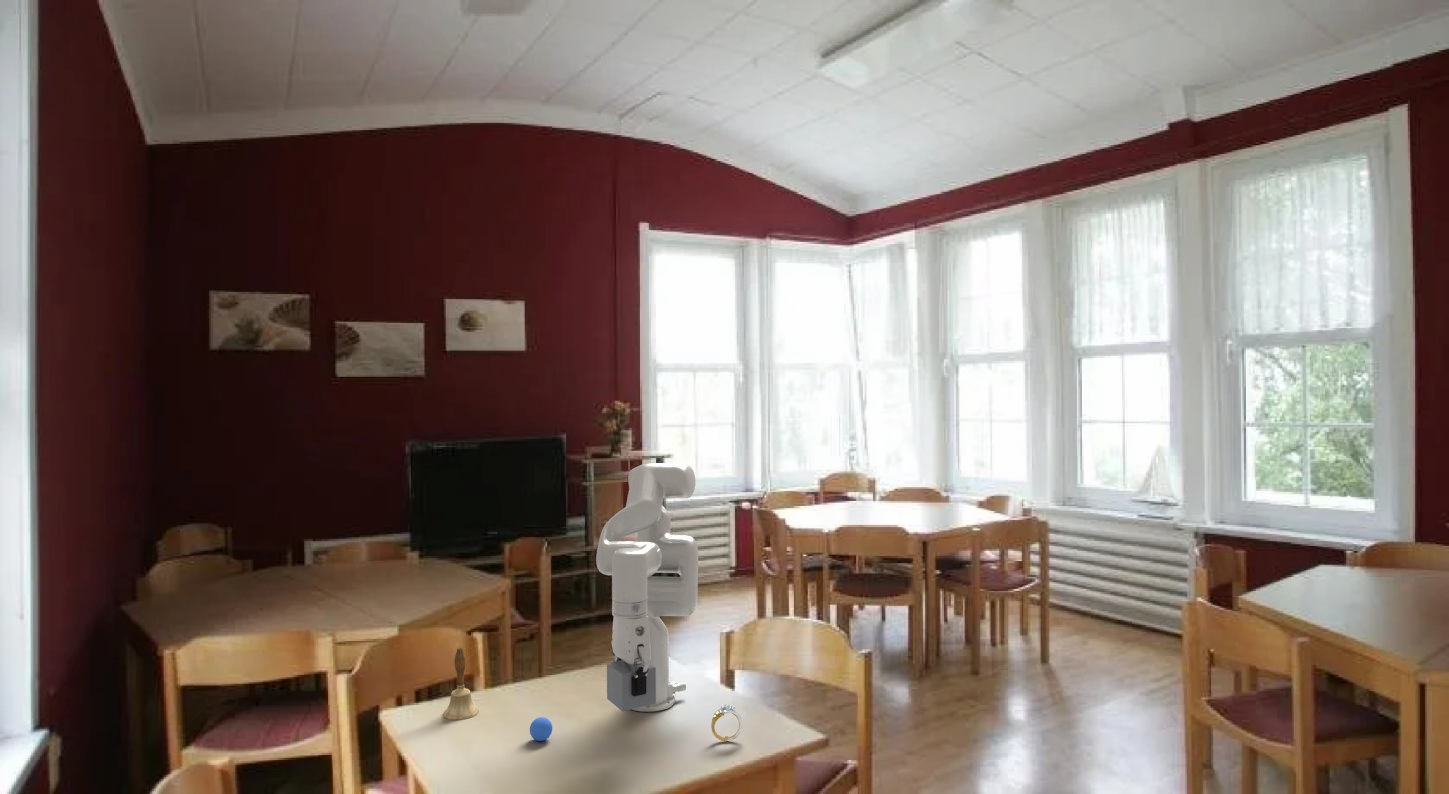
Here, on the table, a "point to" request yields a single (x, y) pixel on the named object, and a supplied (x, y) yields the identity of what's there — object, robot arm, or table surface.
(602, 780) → the table surface
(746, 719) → the table surface
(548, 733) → the ball
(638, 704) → the grey cube
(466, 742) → the table surface
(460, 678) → the hand bell
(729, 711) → the ring
